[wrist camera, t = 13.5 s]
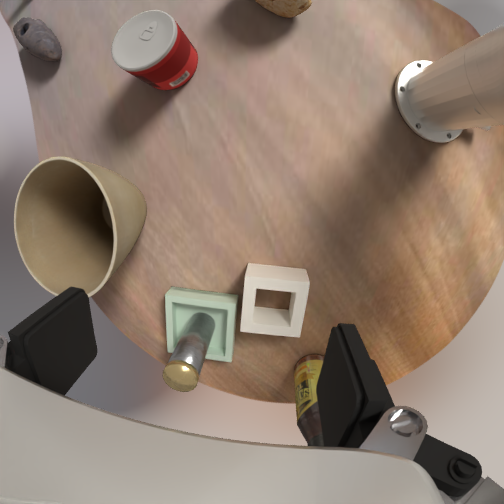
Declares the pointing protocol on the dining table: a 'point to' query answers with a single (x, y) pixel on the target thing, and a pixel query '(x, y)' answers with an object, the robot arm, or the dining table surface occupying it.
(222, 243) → the dining table surface
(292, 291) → the socket block
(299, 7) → the tan ring
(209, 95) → the dining table surface
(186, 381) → the pin
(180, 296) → the tray
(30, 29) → the perforated stone tool
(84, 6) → the dining table surface
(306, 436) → the sauce bottle
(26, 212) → the plant pot
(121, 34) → the canned food
